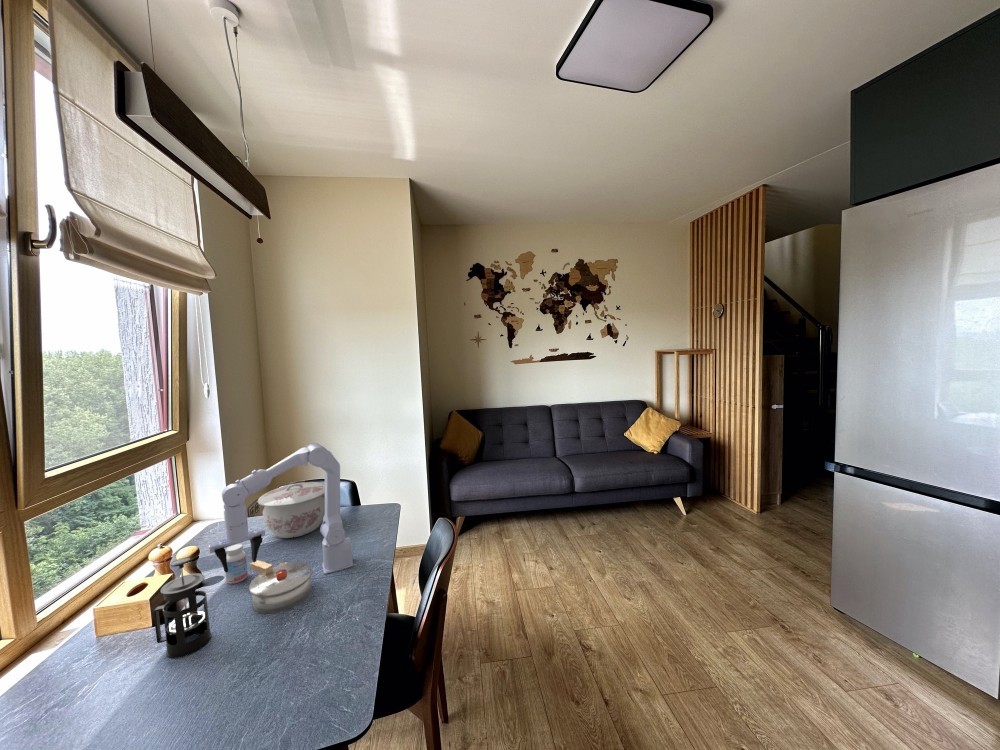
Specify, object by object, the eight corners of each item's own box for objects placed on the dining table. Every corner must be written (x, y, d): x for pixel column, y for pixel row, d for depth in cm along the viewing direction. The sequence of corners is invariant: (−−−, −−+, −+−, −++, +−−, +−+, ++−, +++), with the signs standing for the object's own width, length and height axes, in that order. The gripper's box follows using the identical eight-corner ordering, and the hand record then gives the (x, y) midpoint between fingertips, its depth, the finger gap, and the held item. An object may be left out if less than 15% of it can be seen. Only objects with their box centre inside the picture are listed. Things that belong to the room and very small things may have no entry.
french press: (219, 627, 109) (211, 547, 108) (207, 650, 100) (198, 564, 99) (167, 639, 105) (158, 557, 104) (150, 665, 96) (140, 575, 95)
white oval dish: (309, 567, 138) (308, 553, 138) (312, 601, 119) (311, 585, 118) (256, 581, 131) (255, 567, 131) (250, 621, 111) (249, 604, 111)
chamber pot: (245, 541, 161) (240, 492, 160) (302, 514, 186) (298, 471, 185) (294, 551, 150) (289, 499, 149) (347, 521, 176) (343, 476, 174)
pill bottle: (237, 585, 129) (234, 552, 129) (222, 583, 131) (218, 551, 130) (252, 574, 135) (249, 543, 135) (237, 573, 137) (234, 542, 136)
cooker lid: (323, 571, 125) (323, 562, 125) (272, 603, 110) (271, 593, 110) (279, 557, 135) (278, 549, 135) (226, 585, 120) (225, 575, 120)
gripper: (259, 512, 129) (263, 552, 129) (205, 528, 118) (209, 571, 119) (265, 517, 124) (269, 559, 125) (209, 534, 113) (214, 580, 114)
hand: (240, 565), depth 121 cm, fingers open, 7 cm apart
